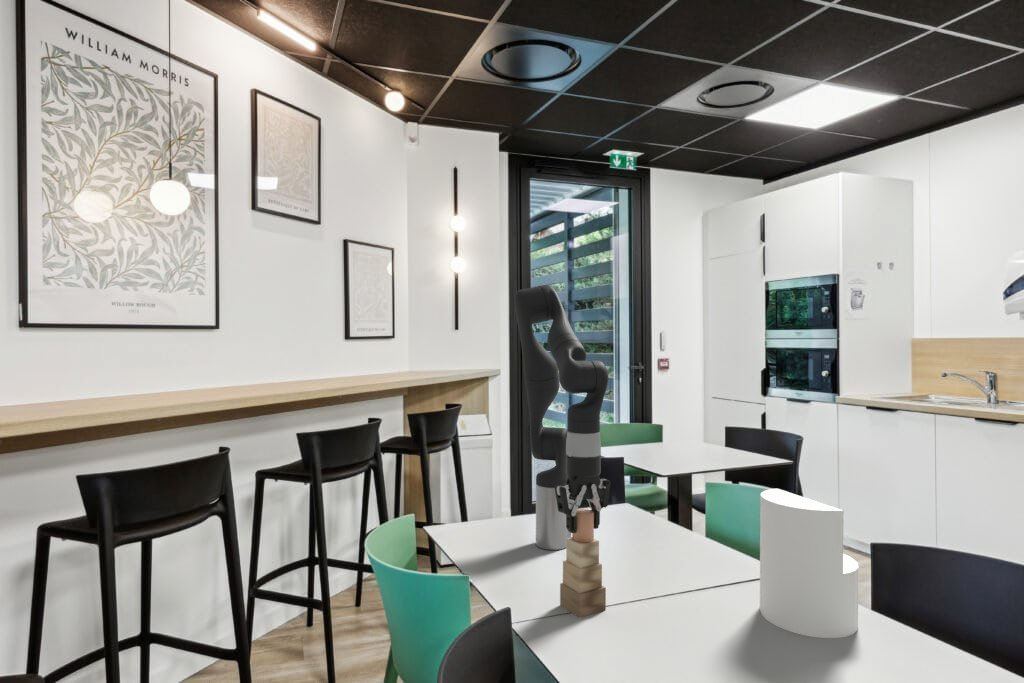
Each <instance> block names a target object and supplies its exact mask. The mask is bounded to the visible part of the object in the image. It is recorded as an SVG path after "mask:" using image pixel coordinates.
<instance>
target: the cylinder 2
mask: <svg viewBox="0 0 1024 683" xmlns="http://www.w3.org/2000/svg"><path fill="white" fill-rule="evenodd" d="M759 495H760V497H759V498H760V502H759V504H760V508H759V510H760V511H759V512H760V516H759V517H760V520H759V523H760V525H759V531H760V532H759V534H760V536H759V537H760V539H759V611H760V615H761V616H762V617H763V618H764V619H765V620H766V621H768V622H769V623H771V624H773V625H774V626H776V627H778V628H780V629H782V630H785V631H788V632H791V633H795V634H798V635H802V636H807V637H812V638H818V639H819V638H822V639H839V638H846V637H849V636H852V635H855V633H856V632H857V631H858V630H859V563H858V561H856V560H855V559H854V558H852V557H851V556H850V555H847V554H845V553H844V525H845V524H844V522H845V521H844V513H845V511H844V509H841V508H837V507H835V506H832V505H828V504H826V503H822V502H821V501H820V502H819V501H817V500H814V499H811V498H808V497H805V496H803V495H798V494H795V493H792V492H791V491H790V492H789V491H787V490H784V489H781V488H769V489H766V490H765V489H764V490H763V491H762V492H760V494H759Z"/></svg>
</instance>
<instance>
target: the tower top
mask: <svg viewBox="0 0 1024 683" xmlns="http://www.w3.org/2000/svg"><path fill="white" fill-rule="evenodd" d="M565 550H566V559H565V560H566V561H567V562H569V563H571V564H573V565H575V566H577V567H579V568H584V567H588V566H592V565H597V564H599V563H600V540H598V539H596V538H594V541H592V542H589V543H580V542H576V541H573V539H572V536H571V537H570V538H567V546H566V548H565Z"/></svg>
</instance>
